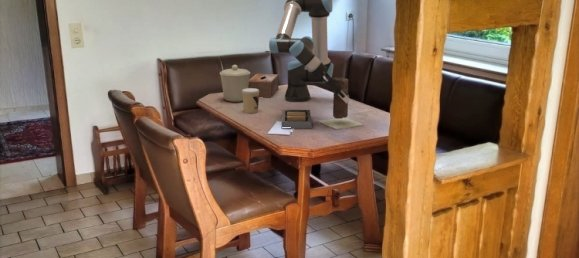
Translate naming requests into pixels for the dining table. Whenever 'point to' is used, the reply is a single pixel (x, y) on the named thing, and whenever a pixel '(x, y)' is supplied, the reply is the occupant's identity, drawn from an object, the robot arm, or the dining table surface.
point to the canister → (234, 83)
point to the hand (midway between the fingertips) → (347, 99)
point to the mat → (340, 123)
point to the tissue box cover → (264, 84)
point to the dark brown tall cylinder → (340, 99)
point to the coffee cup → (250, 100)
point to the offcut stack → (296, 116)
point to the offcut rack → (297, 124)
